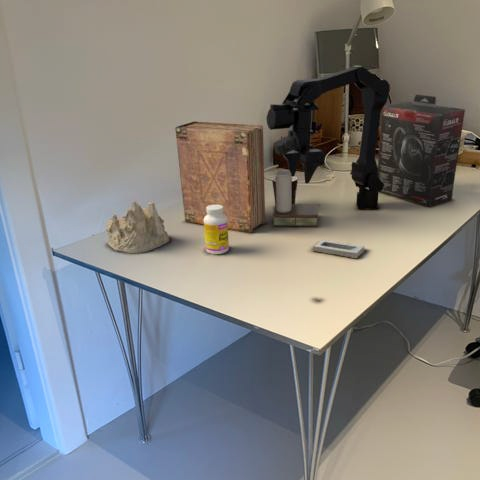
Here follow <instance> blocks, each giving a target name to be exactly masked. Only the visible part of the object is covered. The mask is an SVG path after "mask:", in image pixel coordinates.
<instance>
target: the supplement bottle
mask: <svg viewBox="0 0 480 480" xmlns="http://www.w3.org/2000/svg"><path fill="white" fill-rule="evenodd" d="M206 212H207V215H206V216H205V217H204V225H203V228H204V229H203V230H204V231H203V232H204V244H205V251H206V253H208V254H212V255H222V254H226V253H227V252H228V251H229V249H230V245H229V243H230V241H229V229H228V221H227V217H226V216H225V215H224V214H223V206H222V205H217V204H215V205H209V206H207V207H206Z"/></svg>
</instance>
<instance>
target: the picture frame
mask: <svg viewBox="0 0 480 480" xmlns="http://www.w3.org/2000/svg"><path fill="white" fill-rule="evenodd" d="M311 251H313V252H318V253H324V254H328V255H337V256H341V257H347V258H352V259H357V258H358V257H360V256H361V255H362V254H364V252H365V251H366V249H365V246H364V245H359V244H353V243H345V242H340V241H333V240H327V239H321V240H320V241H318V242H317V243H316V244H315V245H313V248H312V249H311ZM319 300H320V299H319V298H315V301H319Z"/></svg>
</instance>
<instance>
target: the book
mask: <svg viewBox="0 0 480 480" xmlns="http://www.w3.org/2000/svg"><path fill="white" fill-rule="evenodd" d="M174 130H175V135H176V136H175V138H176V139H175V140H176V147H177V157H178V166H179V176H180V177H179V178H180V186H181V195H182V203H183V204H182V205H183V213H184V215H183V216H184V221H185V222H186V223H190V224H196V225H203V226H204V217H205V216H206V215H207V212H206V207H207V206H209V205H215V204H217V205H222V206H223V214H224V215H225V216H226V217H227V221H228V230H232V231H237V232H243V233H248V234H252V233H253V230H254V229H256V228H257V227H258V226H260V225H265V224H266V198H265V197H266V196H265V195H266V194H265V193H266V191H265V190H266V189H265V158H264V157H265V154H264V153H265V152H264V151H265V150H264V149H265V148H264V146H265V145H264V126H263V125H261V124H244V123H227V122H209V121H191V122H187V123H184V124H181V125H178V126H176V127H175V128H174Z"/></svg>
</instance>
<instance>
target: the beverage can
mask: <svg viewBox="0 0 480 480" xmlns="http://www.w3.org/2000/svg"><path fill="white" fill-rule="evenodd" d="M275 177H276V210H277V212H279V213H288V212H290V211H291V210H292V175H291V172H290V171H289V170H280V171H277V172H276V174H275Z"/></svg>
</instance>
